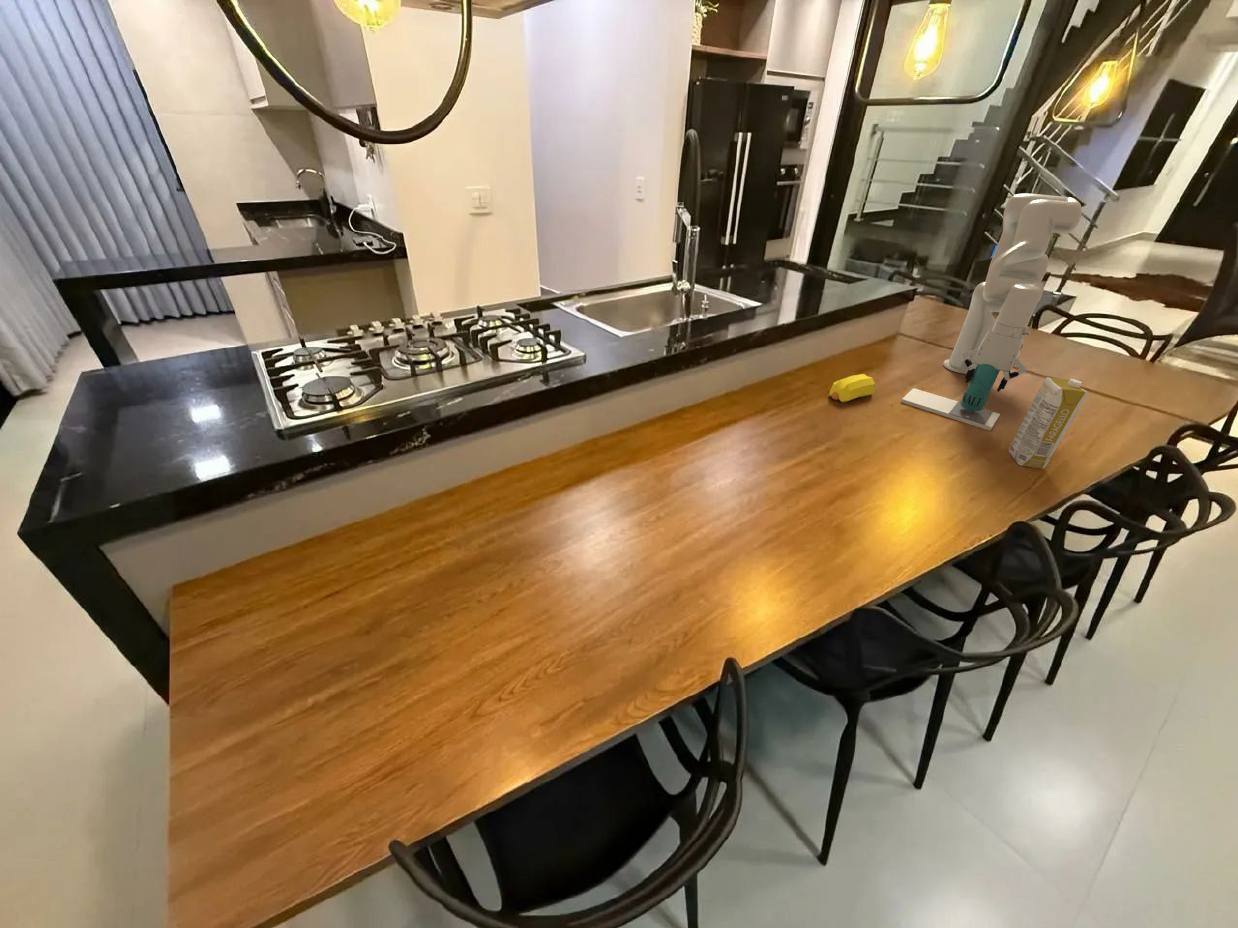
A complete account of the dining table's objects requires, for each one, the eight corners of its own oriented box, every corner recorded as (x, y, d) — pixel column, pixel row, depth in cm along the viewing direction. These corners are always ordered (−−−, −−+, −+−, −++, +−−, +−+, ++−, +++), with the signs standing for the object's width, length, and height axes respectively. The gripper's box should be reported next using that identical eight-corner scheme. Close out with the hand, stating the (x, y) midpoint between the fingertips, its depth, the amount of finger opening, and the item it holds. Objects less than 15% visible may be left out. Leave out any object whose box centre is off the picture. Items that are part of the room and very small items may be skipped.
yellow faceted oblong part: (822, 396, 177) (841, 406, 171) (827, 378, 173) (846, 387, 168) (859, 386, 185) (878, 395, 179) (864, 368, 181) (884, 377, 176)
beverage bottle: (975, 407, 171) (1002, 347, 160) (984, 417, 166) (1013, 355, 155) (954, 405, 172) (979, 345, 161) (962, 415, 166) (989, 353, 155)
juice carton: (1049, 471, 143) (1096, 389, 130) (1016, 467, 145) (1060, 385, 131) (1033, 453, 151) (1077, 374, 138) (1003, 449, 152) (1043, 370, 139)
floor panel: (912, 391, 183) (913, 387, 182) (998, 417, 169) (1000, 413, 168) (900, 402, 175) (902, 398, 174) (990, 430, 161) (992, 426, 161)
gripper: (1046, 334, 152) (1018, 391, 161) (977, 319, 161) (955, 374, 170) (1041, 341, 147) (1013, 399, 156) (971, 325, 156) (948, 380, 166)
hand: (983, 385), depth 163 cm, fingers open, 8 cm apart
